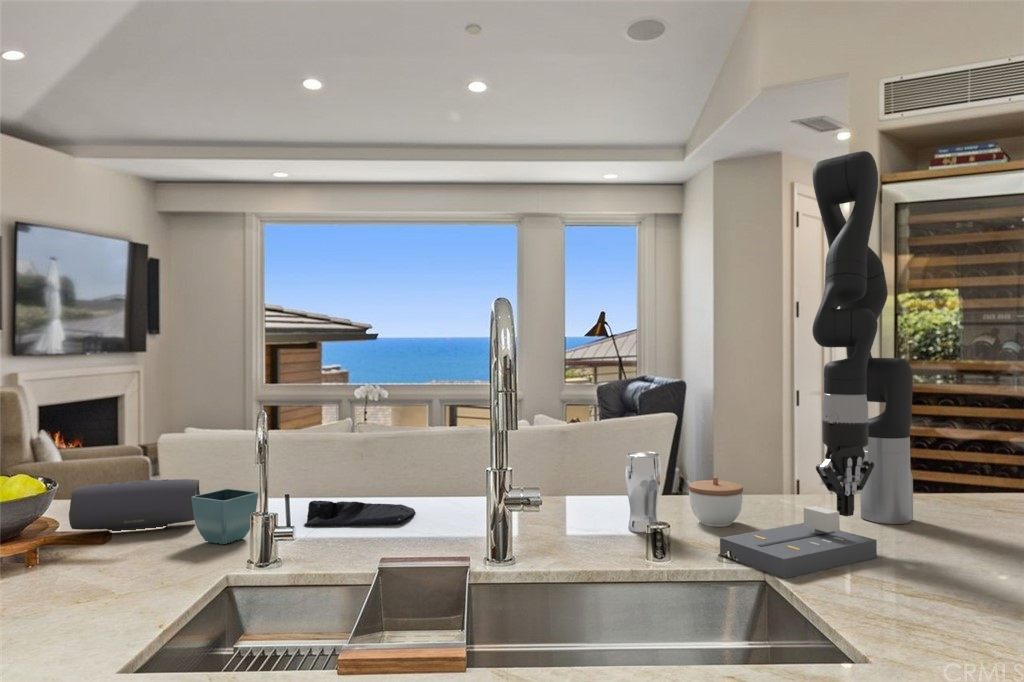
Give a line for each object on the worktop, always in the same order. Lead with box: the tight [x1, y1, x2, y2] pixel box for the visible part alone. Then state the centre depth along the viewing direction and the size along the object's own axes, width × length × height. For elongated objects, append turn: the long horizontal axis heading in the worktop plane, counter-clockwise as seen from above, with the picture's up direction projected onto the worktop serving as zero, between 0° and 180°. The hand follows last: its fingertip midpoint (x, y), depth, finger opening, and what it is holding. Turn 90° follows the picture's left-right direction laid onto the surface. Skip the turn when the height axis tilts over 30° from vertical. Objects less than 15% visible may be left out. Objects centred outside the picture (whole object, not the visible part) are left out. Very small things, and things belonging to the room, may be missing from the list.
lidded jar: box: [688, 476, 744, 528], centre depth 146 cm, size 11×11×9 cm
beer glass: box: [624, 451, 662, 535], centre depth 141 cm, size 7×7×15 cm
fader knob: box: [803, 505, 840, 534], centre depth 125 cm, size 3×5×4 cm, turn 27°
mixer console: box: [719, 522, 878, 579], centre depth 123 cm, size 22×14×3 cm, turn 117°
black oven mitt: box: [303, 500, 416, 527], centre depth 153 cm, size 15×22×5 cm
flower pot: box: [191, 488, 259, 545], centre depth 137 cm, size 9×9×9 cm
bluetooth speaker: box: [68, 478, 201, 531], centre depth 146 cm, size 23×9×10 cm, turn 108°
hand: (845, 515), depth 129 cm, fingers closed
